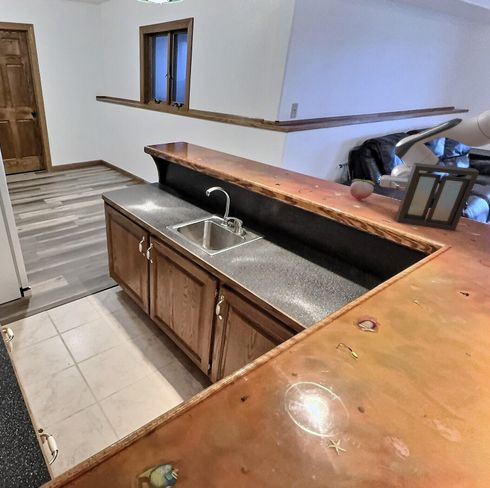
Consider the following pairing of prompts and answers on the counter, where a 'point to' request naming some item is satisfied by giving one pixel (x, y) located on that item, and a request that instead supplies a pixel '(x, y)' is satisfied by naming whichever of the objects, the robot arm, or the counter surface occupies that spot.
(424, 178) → the sash
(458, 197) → the window frame
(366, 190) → the decorative fruit
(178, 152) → the counter surface
